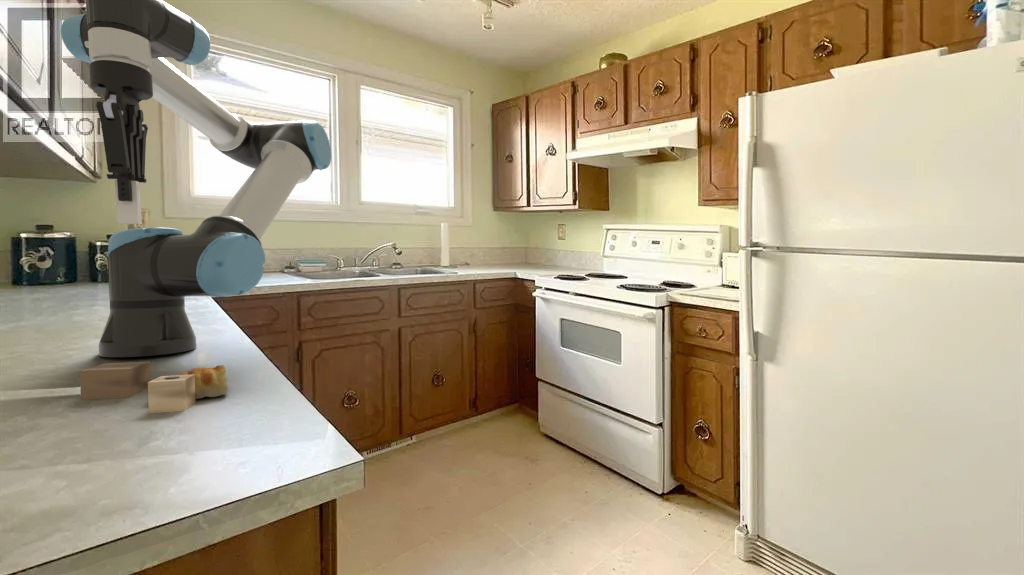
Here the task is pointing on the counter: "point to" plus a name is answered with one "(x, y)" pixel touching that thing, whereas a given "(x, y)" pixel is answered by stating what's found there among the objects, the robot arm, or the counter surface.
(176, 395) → the beech block
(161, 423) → the counter surface
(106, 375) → the walnut block
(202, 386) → the pastry
